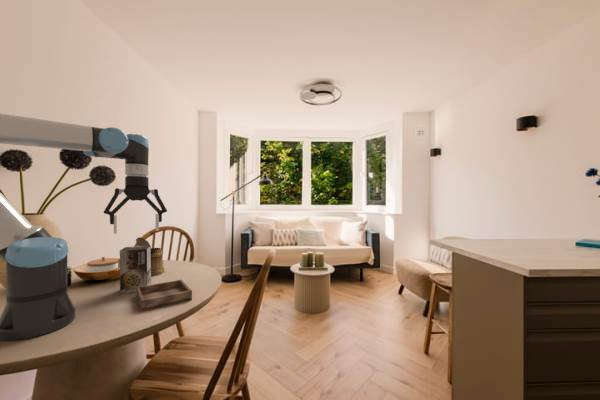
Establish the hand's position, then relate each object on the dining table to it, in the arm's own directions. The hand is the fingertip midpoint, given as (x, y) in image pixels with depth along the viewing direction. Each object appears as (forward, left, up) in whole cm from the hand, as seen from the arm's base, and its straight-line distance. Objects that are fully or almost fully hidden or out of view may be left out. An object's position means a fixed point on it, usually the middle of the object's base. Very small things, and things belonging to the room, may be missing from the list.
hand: (137, 231), depth 98 cm
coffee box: (0, 0, -22) cm, 22 cm away
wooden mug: (+7, +19, -22) cm, 30 cm away
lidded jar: (-10, +23, -22) cm, 34 cm away
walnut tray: (+7, -15, -22) cm, 28 cm away
